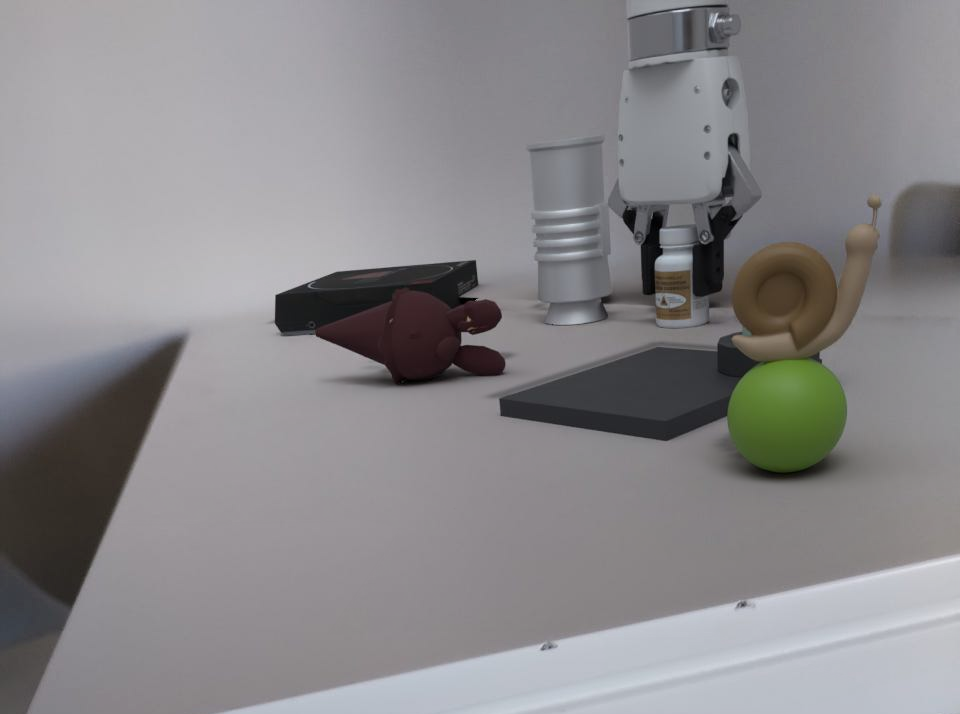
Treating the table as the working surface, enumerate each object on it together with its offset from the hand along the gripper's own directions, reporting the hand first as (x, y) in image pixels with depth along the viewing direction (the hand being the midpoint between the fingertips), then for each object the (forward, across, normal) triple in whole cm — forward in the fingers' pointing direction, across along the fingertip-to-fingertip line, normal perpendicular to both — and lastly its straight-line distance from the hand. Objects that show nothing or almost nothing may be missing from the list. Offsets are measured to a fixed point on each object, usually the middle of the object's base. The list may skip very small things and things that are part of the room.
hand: (682, 290), depth 86 cm
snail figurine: (+3, -29, +30) cm, 42 cm away
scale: (+3, -14, +21) cm, 25 cm away
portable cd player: (+3, +36, +4) cm, 36 cm away
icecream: (+3, +7, +24) cm, 25 cm away
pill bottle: (+3, 0, 0) cm, 3 cm away
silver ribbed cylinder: (+3, +12, 0) cm, 12 cm away
